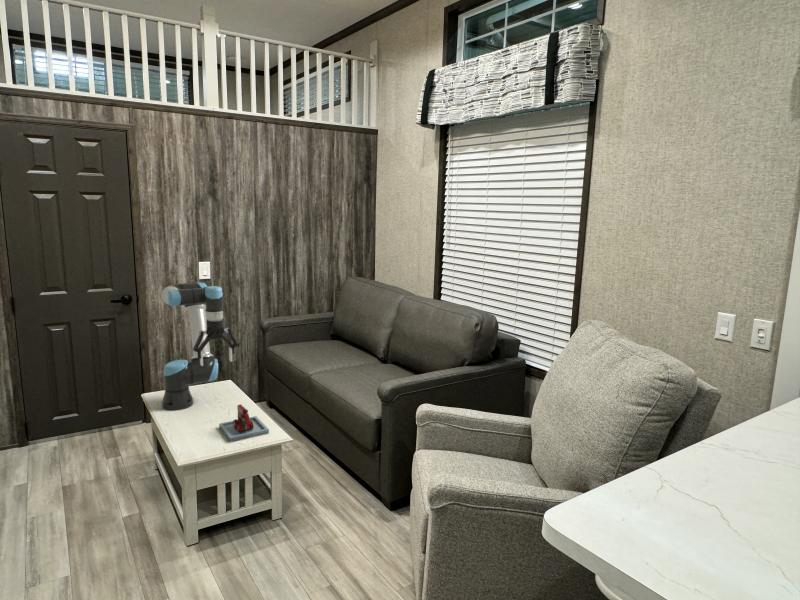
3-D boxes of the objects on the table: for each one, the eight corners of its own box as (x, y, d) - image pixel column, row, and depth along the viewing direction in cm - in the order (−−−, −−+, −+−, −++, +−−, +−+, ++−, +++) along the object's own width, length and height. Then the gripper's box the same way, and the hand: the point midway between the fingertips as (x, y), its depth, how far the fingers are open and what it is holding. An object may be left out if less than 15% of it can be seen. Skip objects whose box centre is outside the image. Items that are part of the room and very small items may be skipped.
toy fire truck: (240, 435, 246) (240, 413, 244) (232, 425, 256) (231, 405, 254) (255, 431, 250) (255, 410, 248) (246, 422, 260) (245, 402, 258)
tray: (219, 427, 255) (219, 423, 255) (256, 419, 265) (256, 416, 265) (230, 442, 241) (230, 437, 240) (268, 433, 251) (268, 429, 250)
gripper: (188, 324, 241) (190, 369, 245) (243, 318, 254) (244, 361, 258) (184, 320, 247) (187, 364, 251) (238, 315, 260) (240, 357, 264)
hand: (216, 363), depth 254 cm, fingers open, 13 cm apart
